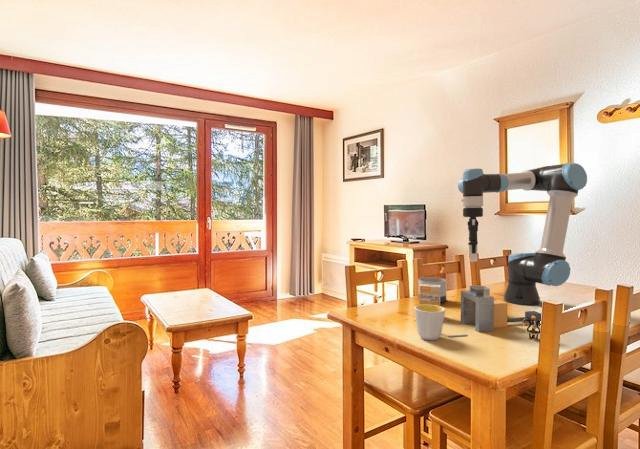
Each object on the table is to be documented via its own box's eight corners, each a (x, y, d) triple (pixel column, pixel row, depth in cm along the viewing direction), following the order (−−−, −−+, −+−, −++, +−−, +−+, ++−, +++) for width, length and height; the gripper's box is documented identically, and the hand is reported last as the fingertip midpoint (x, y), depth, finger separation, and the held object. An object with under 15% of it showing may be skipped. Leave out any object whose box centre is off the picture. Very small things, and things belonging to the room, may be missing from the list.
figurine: (520, 336, 131) (523, 314, 130) (530, 335, 133) (533, 312, 132) (533, 342, 127) (535, 319, 126) (543, 340, 129) (545, 317, 128)
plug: (533, 320, 150) (533, 298, 150) (542, 324, 145) (542, 301, 145) (484, 323, 147) (484, 300, 146) (492, 327, 142) (492, 303, 141)
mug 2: (485, 316, 156) (486, 290, 156) (464, 313, 162) (465, 287, 161) (494, 310, 165) (495, 285, 165) (474, 307, 171) (474, 283, 170)
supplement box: (418, 317, 156) (418, 285, 156) (420, 314, 161) (420, 283, 160) (439, 319, 153) (440, 286, 153) (440, 315, 158) (440, 284, 157)
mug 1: (442, 344, 125) (442, 313, 124) (410, 340, 129) (411, 309, 129) (448, 332, 137) (449, 303, 136) (420, 328, 141) (420, 300, 141)
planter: (452, 301, 181) (452, 280, 181) (434, 306, 174) (434, 283, 174) (430, 296, 192) (430, 276, 192) (412, 300, 185) (412, 279, 184)
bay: (442, 321, 151) (442, 320, 151) (467, 335, 133) (467, 335, 133) (426, 322, 149) (425, 321, 149) (449, 337, 132) (449, 336, 132)
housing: (474, 321, 150) (475, 284, 149) (493, 331, 138) (494, 291, 137) (460, 322, 149) (460, 285, 148) (478, 332, 137) (478, 292, 136)
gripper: (462, 207, 167) (462, 255, 168) (463, 207, 144) (463, 263, 145) (481, 206, 165) (481, 255, 166) (484, 207, 141) (485, 264, 142)
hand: (473, 259), depth 155 cm, fingers open, 13 cm apart
